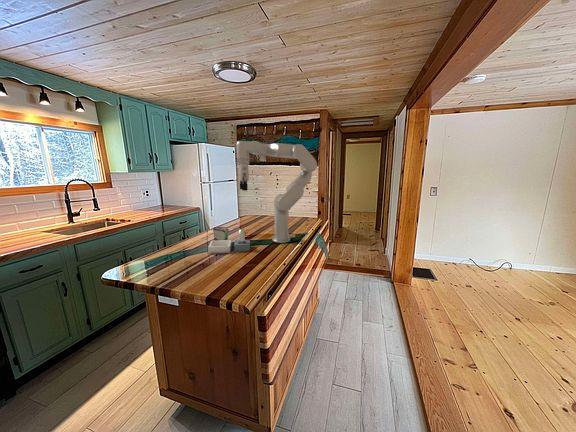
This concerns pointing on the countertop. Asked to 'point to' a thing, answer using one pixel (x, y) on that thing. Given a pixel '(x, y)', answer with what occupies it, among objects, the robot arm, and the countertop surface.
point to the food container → (220, 233)
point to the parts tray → (219, 246)
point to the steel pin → (242, 236)
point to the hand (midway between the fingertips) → (243, 189)
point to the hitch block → (242, 246)
